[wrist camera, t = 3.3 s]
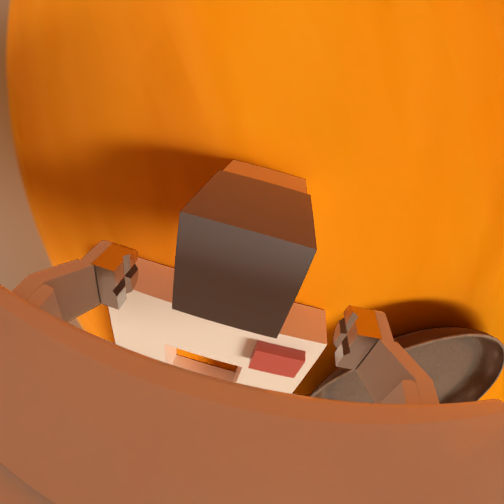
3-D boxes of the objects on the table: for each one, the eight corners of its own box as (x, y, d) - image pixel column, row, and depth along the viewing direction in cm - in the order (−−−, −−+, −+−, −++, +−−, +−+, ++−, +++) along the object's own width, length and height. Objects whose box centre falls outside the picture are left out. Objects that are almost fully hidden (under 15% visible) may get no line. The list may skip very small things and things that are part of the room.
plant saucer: (410, 426, 28) (413, 445, 25) (271, 411, 27) (268, 436, 24) (522, 326, 17) (534, 349, 14) (378, 271, 16) (390, 307, 13)
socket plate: (126, 253, 18) (97, 286, 15) (325, 310, 18) (327, 354, 15) (137, 362, 25) (123, 391, 22) (268, 401, 25) (263, 433, 22)
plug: (231, 157, 14) (180, 211, 8) (307, 178, 14) (316, 249, 8) (217, 224, 16) (171, 308, 10) (286, 243, 16) (276, 338, 10)
